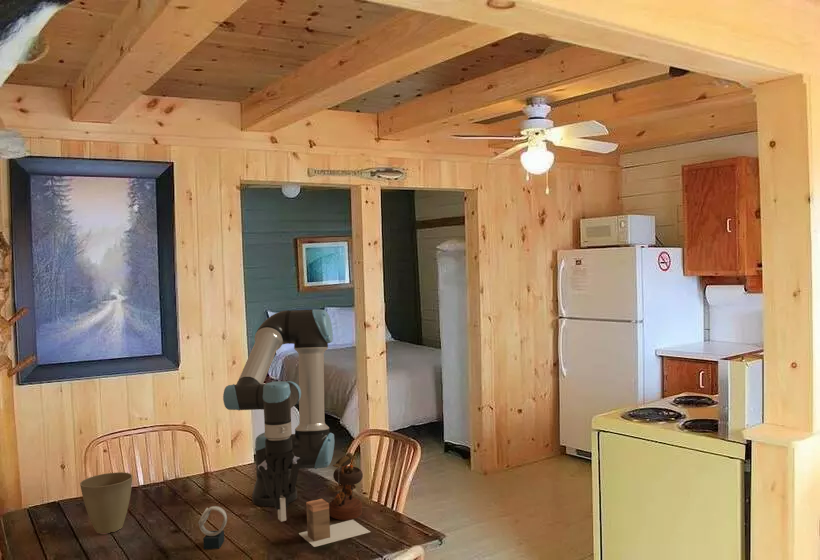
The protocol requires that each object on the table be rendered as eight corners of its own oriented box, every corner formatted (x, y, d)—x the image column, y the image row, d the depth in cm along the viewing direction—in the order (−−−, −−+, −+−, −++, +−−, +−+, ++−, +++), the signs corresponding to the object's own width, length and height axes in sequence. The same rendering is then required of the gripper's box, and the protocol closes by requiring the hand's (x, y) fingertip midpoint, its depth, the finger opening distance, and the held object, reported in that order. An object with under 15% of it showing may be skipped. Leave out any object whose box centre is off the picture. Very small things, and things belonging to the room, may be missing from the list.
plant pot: (145, 523, 216) (142, 473, 216) (110, 541, 202) (107, 488, 202) (107, 519, 221) (105, 470, 221) (71, 537, 207) (68, 485, 207)
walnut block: (307, 535, 200) (306, 502, 200) (323, 531, 203) (321, 498, 203) (314, 541, 196) (312, 507, 196) (330, 537, 199) (328, 503, 198)
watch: (203, 541, 200) (201, 504, 200) (230, 540, 200) (228, 503, 200) (196, 549, 194) (195, 511, 194) (225, 548, 194) (223, 510, 194)
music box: (355, 524, 209) (352, 459, 208) (322, 522, 212) (319, 458, 211) (371, 506, 223) (368, 446, 223) (339, 504, 226) (337, 445, 226)
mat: (298, 534, 203) (298, 533, 203) (352, 520, 212) (352, 519, 212) (314, 547, 192) (314, 546, 192) (370, 532, 202) (370, 531, 202)
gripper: (260, 443, 187) (264, 529, 187) (305, 436, 193) (308, 518, 194) (251, 438, 193) (255, 520, 194) (295, 430, 200) (298, 510, 200)
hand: (282, 519), depth 194 cm, fingers closed
